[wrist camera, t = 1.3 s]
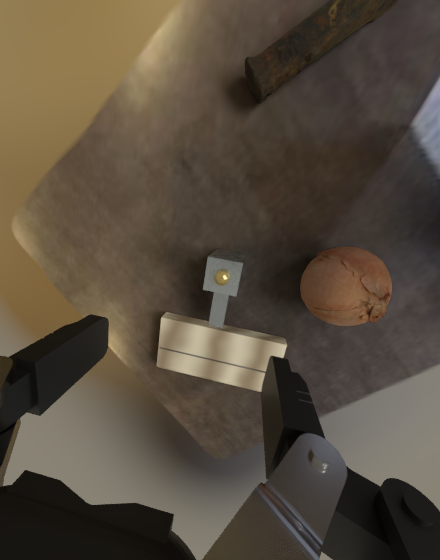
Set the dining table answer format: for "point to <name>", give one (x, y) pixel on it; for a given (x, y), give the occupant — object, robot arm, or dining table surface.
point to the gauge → (222, 281)
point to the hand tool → (309, 42)
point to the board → (216, 351)
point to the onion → (346, 286)
